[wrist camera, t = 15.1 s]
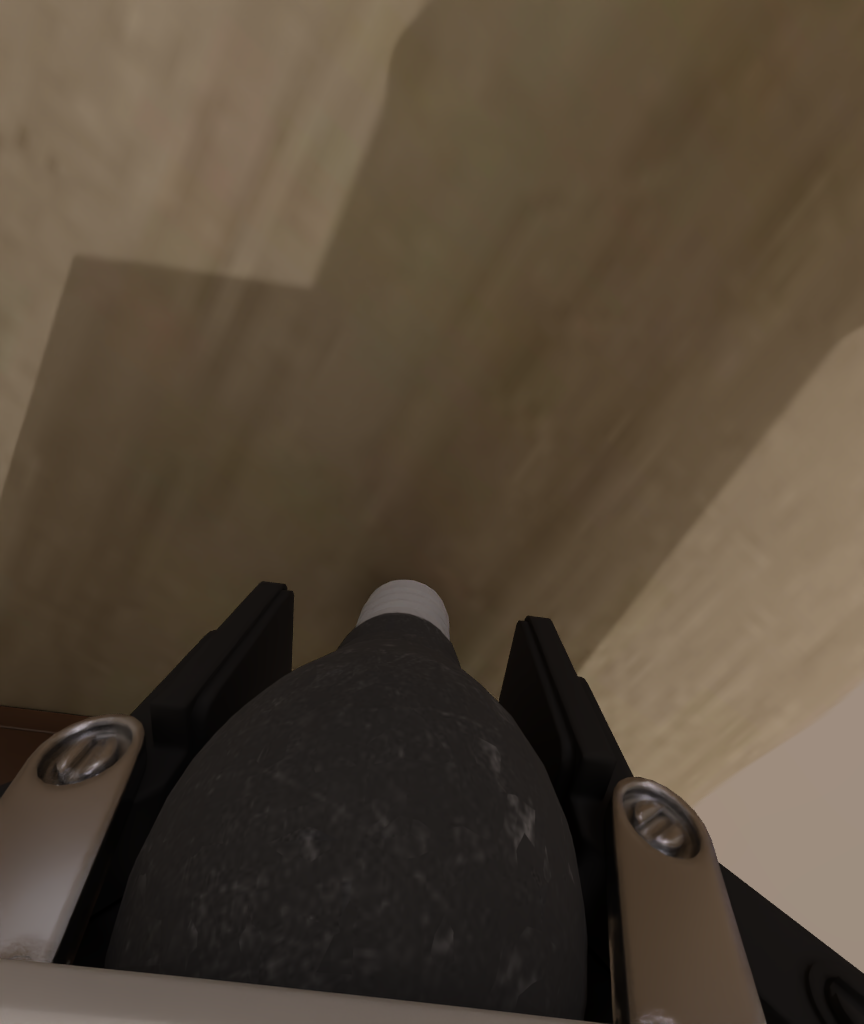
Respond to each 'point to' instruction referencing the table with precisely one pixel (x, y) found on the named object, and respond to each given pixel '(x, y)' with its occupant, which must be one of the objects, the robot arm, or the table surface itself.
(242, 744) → the black round piece
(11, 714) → the chest
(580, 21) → the table surface
